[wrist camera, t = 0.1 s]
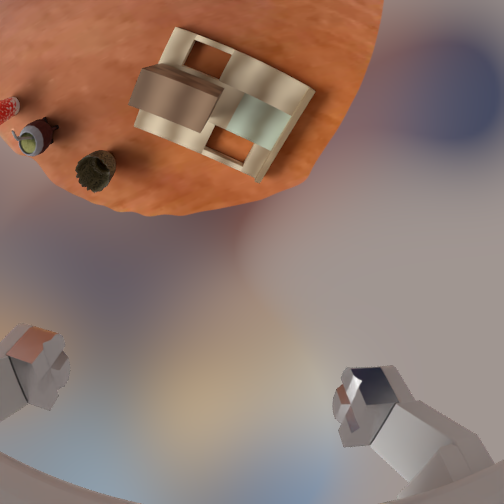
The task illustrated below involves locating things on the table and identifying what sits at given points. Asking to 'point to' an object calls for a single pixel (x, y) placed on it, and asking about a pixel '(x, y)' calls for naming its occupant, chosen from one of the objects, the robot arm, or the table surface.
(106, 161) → the cup
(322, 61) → the table surface
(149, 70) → the block
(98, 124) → the table surface
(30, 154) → the mate gourd
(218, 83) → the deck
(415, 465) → the robot arm
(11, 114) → the beverage cup
